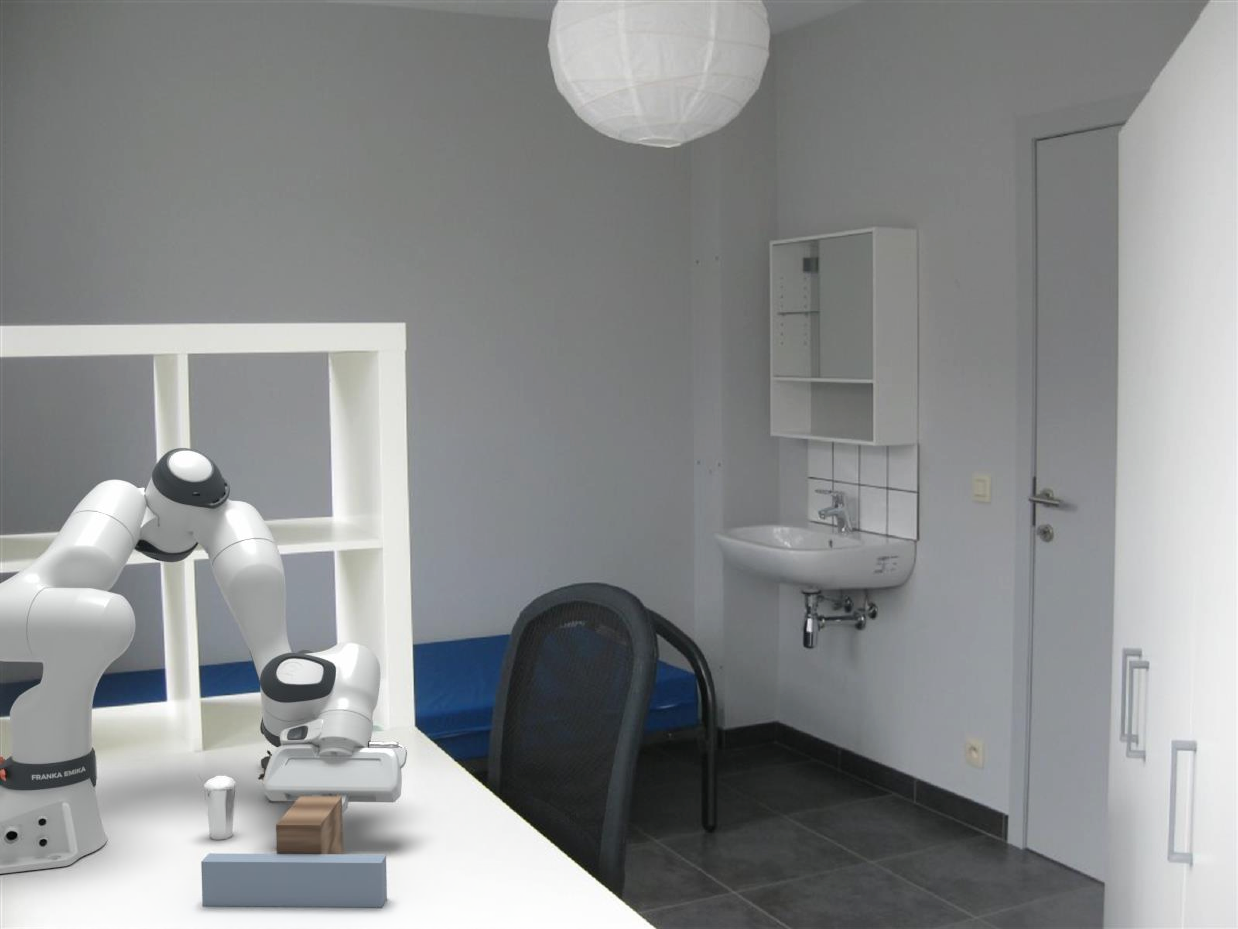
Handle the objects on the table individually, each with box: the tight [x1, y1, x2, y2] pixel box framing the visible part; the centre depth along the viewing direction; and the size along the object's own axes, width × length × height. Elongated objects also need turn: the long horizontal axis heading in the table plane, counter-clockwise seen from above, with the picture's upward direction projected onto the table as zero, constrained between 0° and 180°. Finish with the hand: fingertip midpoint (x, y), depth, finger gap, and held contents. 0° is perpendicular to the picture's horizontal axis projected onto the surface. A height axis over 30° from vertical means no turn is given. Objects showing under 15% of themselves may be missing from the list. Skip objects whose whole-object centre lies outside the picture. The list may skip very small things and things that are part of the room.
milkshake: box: [198, 773, 236, 841], centre depth 204 cm, size 4×5×10 cm
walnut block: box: [275, 796, 344, 854], centre depth 187 cm, size 12×6×10 cm, turn 178°
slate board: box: [200, 852, 388, 908], centre depth 179 cm, size 24×3×6 cm, turn 88°
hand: (325, 826), depth 195 cm, fingers closed
